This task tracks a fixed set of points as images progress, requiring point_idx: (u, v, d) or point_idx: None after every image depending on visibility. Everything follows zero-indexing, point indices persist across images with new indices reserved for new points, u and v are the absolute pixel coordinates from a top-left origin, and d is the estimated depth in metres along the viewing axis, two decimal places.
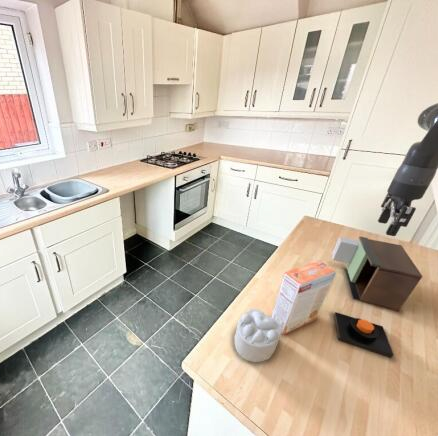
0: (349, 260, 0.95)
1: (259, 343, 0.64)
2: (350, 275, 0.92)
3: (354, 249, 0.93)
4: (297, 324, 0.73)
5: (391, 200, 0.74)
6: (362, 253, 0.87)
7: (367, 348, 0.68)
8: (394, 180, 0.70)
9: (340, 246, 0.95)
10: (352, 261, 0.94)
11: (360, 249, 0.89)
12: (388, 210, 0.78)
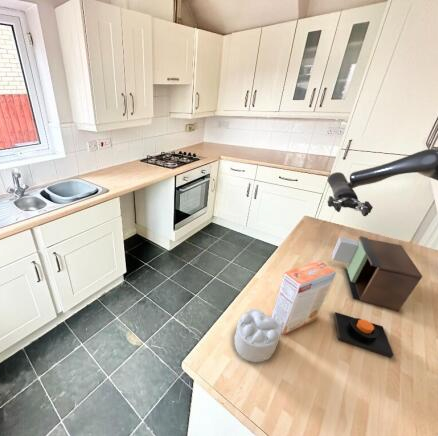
0: (349, 260, 0.95)
1: (259, 343, 0.64)
2: (350, 275, 0.92)
3: (354, 249, 0.93)
4: (297, 324, 0.73)
5: None
6: (362, 253, 0.87)
7: (367, 348, 0.68)
8: None
9: (340, 246, 0.95)
10: (352, 261, 0.94)
11: (360, 249, 0.89)
12: None
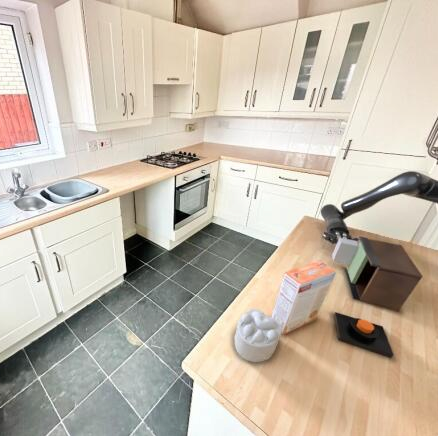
0: (349, 261, 0.95)
1: (259, 343, 0.64)
2: (351, 276, 0.92)
3: (354, 250, 0.92)
4: (297, 324, 0.73)
5: None
6: (362, 254, 0.86)
7: (367, 348, 0.68)
8: None
9: (340, 247, 0.94)
10: (352, 262, 0.93)
11: (360, 249, 0.89)
12: None
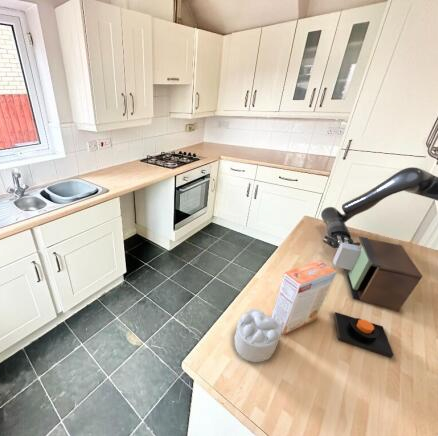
0: (351, 266, 0.92)
1: (259, 343, 0.64)
2: (353, 282, 0.89)
3: (356, 255, 0.90)
4: (297, 324, 0.73)
5: None
6: (365, 260, 0.84)
7: (367, 348, 0.68)
8: None
9: (342, 252, 0.91)
10: (354, 267, 0.91)
11: (362, 255, 0.86)
12: None
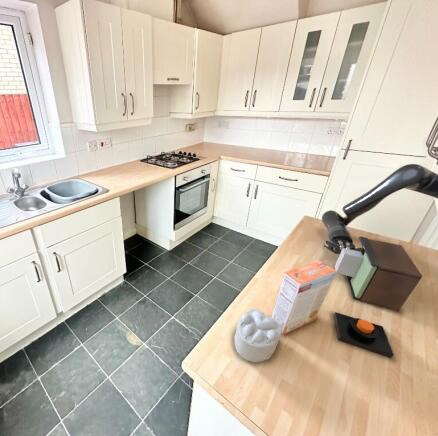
0: (353, 273, 0.89)
1: (259, 343, 0.64)
2: (355, 289, 0.86)
3: (359, 262, 0.86)
4: (297, 324, 0.73)
5: None
6: (368, 267, 0.80)
7: (367, 348, 0.68)
8: None
9: (344, 258, 0.88)
10: (357, 274, 0.87)
11: (365, 262, 0.83)
12: None
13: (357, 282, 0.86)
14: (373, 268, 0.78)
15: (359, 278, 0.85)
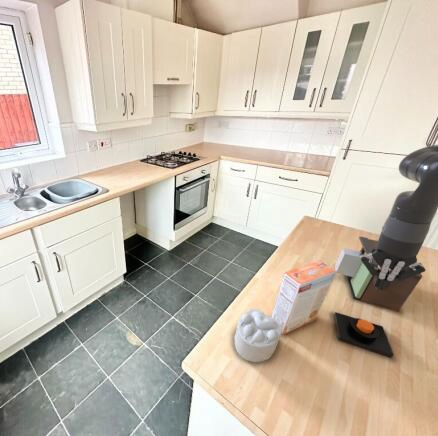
0: (353, 273, 0.89)
1: (259, 343, 0.64)
2: (355, 289, 0.86)
3: (359, 262, 0.86)
4: (297, 324, 0.73)
5: None
6: None
7: (367, 348, 0.68)
8: None
9: (344, 258, 0.88)
10: (357, 274, 0.87)
11: None
12: (386, 275, 0.65)
13: (357, 282, 0.86)
14: None
15: (359, 278, 0.85)
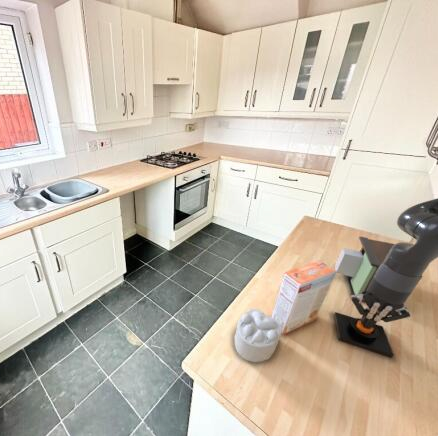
0: (353, 273, 0.89)
1: (259, 343, 0.64)
2: (355, 289, 0.86)
3: (359, 262, 0.86)
4: (297, 324, 0.73)
5: None
6: (368, 267, 0.80)
7: (367, 348, 0.68)
8: None
9: (344, 258, 0.88)
10: (357, 274, 0.87)
11: (365, 262, 0.83)
12: (373, 315, 0.68)
13: (357, 282, 0.86)
14: (373, 268, 0.78)
15: (359, 278, 0.85)
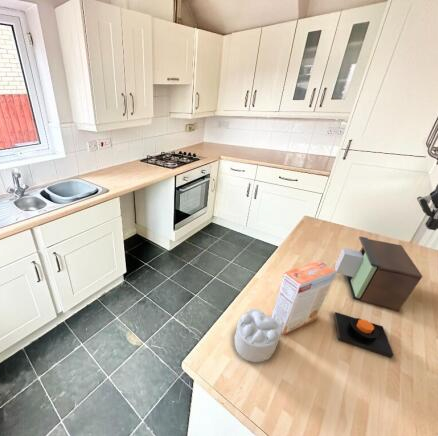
0: (353, 273, 0.89)
1: (259, 343, 0.64)
2: (355, 289, 0.86)
3: (359, 262, 0.86)
4: (297, 324, 0.73)
5: None
6: (368, 267, 0.80)
7: (367, 348, 0.68)
8: None
9: (344, 258, 0.88)
10: (357, 274, 0.87)
11: (365, 262, 0.83)
12: None
13: (357, 282, 0.86)
14: (373, 268, 0.78)
15: (359, 278, 0.85)
